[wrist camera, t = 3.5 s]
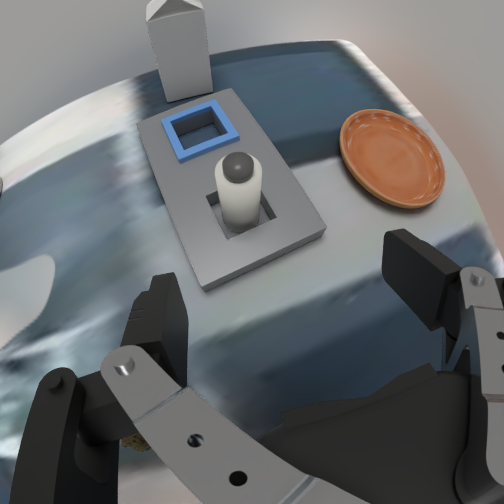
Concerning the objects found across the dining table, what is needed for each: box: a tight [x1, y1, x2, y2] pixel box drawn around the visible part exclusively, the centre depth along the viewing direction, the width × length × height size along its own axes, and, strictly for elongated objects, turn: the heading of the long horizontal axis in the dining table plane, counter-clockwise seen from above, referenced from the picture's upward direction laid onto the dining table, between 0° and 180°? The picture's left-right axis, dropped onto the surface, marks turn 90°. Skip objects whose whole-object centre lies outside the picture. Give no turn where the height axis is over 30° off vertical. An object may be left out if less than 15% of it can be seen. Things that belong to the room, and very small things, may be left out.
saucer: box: [339, 109, 445, 208], centre depth 35 cm, size 16×16×3 cm
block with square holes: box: [136, 88, 327, 292], centre depth 33 cm, size 14×24×3 cm, turn 26°
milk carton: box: [146, 0, 213, 102], centre depth 31 cm, size 7×7×19 cm
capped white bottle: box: [215, 152, 262, 233], centre depth 28 cm, size 4×4×10 cm
